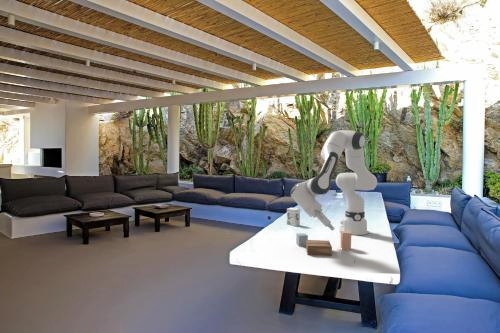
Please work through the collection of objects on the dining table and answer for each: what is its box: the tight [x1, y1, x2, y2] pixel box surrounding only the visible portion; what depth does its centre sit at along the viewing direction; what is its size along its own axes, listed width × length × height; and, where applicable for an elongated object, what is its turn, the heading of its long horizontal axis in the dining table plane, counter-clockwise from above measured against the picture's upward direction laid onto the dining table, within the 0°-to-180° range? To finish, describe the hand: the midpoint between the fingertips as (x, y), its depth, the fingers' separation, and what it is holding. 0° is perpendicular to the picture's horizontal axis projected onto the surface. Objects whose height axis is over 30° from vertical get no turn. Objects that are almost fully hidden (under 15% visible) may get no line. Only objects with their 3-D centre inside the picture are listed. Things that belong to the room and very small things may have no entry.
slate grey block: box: [295, 232, 309, 247], centre depth 190 cm, size 5×5×6 cm
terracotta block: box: [340, 231, 352, 251], centre depth 185 cm, size 4×4×9 cm
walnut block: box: [305, 239, 333, 257], centre depth 177 cm, size 12×12×5 cm
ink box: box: [286, 207, 301, 227], centre depth 243 cm, size 9×5×12 cm, turn 37°
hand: (331, 227), depth 185 cm, fingers open, 8 cm apart
